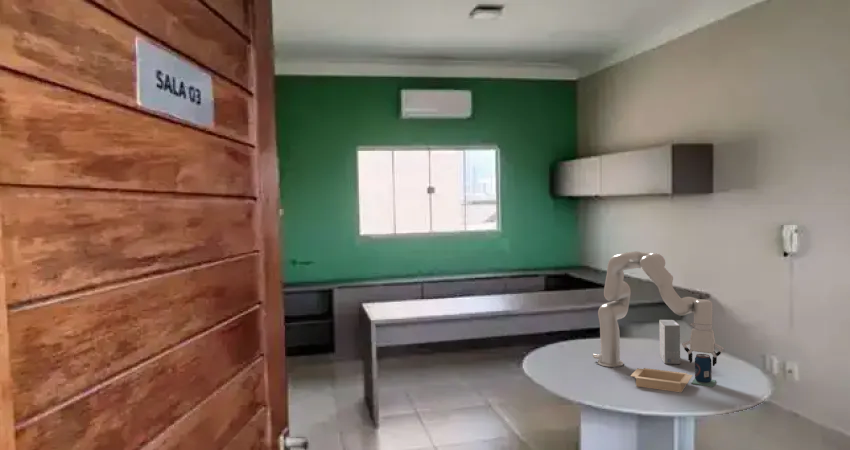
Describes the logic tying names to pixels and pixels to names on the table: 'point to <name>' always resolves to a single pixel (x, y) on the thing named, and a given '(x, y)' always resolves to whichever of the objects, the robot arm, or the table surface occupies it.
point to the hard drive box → (669, 341)
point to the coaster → (704, 383)
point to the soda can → (703, 368)
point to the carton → (661, 379)
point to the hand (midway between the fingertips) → (702, 363)
